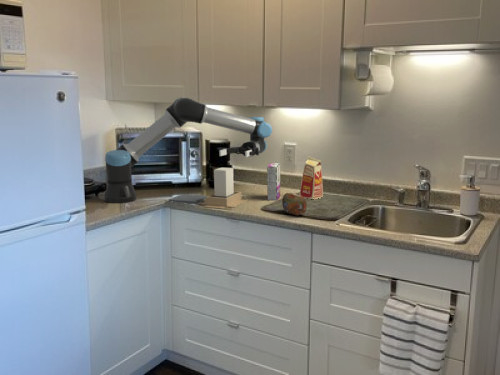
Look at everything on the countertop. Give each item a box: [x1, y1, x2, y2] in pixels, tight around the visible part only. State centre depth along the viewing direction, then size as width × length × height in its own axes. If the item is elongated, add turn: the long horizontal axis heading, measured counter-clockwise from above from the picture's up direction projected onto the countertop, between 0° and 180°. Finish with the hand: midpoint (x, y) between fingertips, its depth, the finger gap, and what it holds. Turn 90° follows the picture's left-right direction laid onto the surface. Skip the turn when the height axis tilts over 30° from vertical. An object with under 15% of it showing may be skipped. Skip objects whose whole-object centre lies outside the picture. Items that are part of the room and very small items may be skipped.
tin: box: [281, 192, 307, 216], centre depth 218 cm, size 15×3×8 cm, turn 29°
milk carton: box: [298, 156, 324, 200], centre depth 249 cm, size 9×9×20 cm
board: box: [168, 193, 208, 205], centre depth 248 cm, size 14×14×1 cm
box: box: [213, 167, 235, 198], centre depth 239 cm, size 6×8×16 cm
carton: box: [200, 190, 248, 210], centre depth 240 cm, size 17×23×4 cm
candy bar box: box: [266, 162, 281, 201], centre depth 249 cm, size 11×5×16 cm, turn 168°
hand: (232, 153), depth 245 cm, fingers open, 13 cm apart
